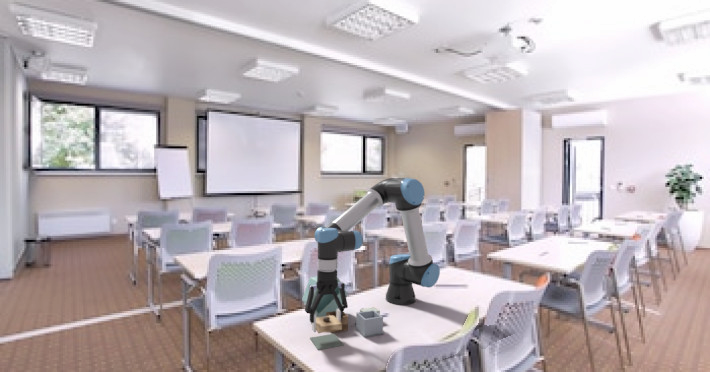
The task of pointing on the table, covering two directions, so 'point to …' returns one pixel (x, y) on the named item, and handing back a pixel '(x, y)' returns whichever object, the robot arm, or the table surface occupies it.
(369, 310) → the pale green block
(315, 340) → the felt mat
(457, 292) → the table surface
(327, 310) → the planter
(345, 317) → the walnut box
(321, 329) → the lid
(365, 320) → the blue-grey box
